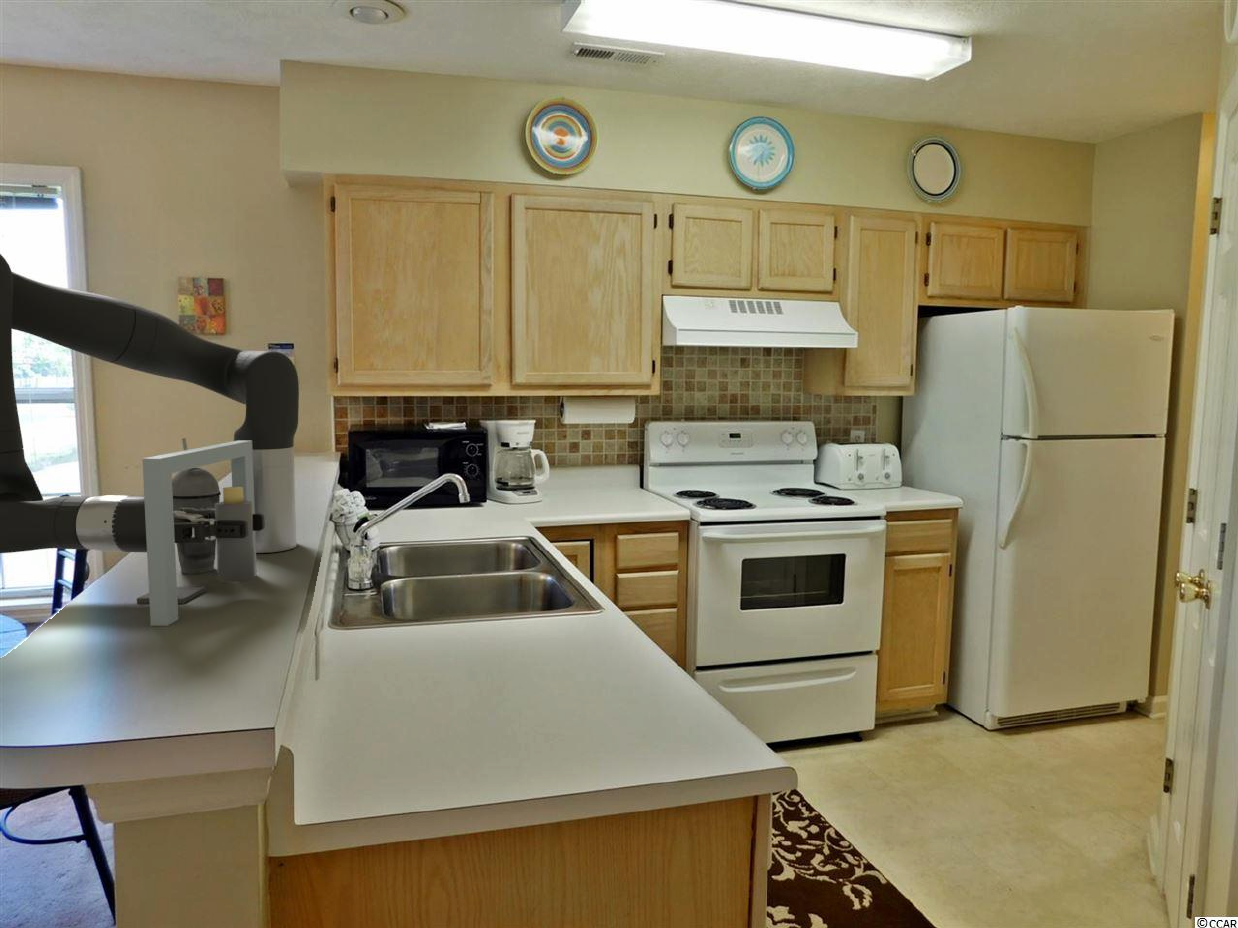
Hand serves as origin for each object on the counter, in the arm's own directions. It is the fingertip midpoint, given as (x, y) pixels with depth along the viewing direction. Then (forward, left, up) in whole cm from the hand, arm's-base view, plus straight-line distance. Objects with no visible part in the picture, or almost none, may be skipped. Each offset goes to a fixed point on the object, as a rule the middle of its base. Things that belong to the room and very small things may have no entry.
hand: (254, 525), depth 113 cm
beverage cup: (-15, -15, -10) cm, 24 cm away
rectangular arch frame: (0, -6, -10) cm, 12 cm away
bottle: (0, -3, -7) cm, 8 cm away
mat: (0, -11, -10) cm, 15 cm away
